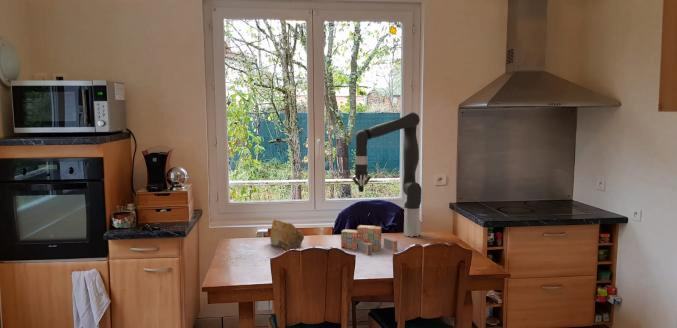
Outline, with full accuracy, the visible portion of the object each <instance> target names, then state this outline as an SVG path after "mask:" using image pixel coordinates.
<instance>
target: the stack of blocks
mask: <svg viewBox="0 0 677 328" xmlns="http://www.w3.org/2000/svg"><path fill="white" fill-rule="evenodd" d="M340 232H341V233H340V234H341V236H340V239H341V241H340V247H344V249H349V248H353V249H354V250H359V241H364V242H366V243H371V244H372V251H375V252H379V251H380V250H381V249H380V248H382V226H376V225H364V224H363V225H362V224H359V225H358V226H357V227H356V229H347V228H345V229H342V230H341V231H340ZM353 249H352V250H353Z"/></svg>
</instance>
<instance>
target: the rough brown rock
mask: <svg viewBox="0 0 677 328" xmlns="http://www.w3.org/2000/svg"><path fill="white" fill-rule="evenodd" d="M302 231H303V230H300V229H297V228H296V227H295V225H294V224H293V223H291V222H286V221H285V222H284V221H281V220H280V219H273V220H272V225H271V229H270V235H269V236H270V237H269V239H270V244H271V245H272V246H276V247H281V248H282V249H283V250H284V251H287V249H288V250H289V249H291V248H296V246H297V248H300V247H301V246H302V242H303V240H304V239H305V236H304V233H303V232H302ZM299 246H300V247H299Z"/></svg>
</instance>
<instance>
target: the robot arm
mask: <svg viewBox="0 0 677 328" xmlns="http://www.w3.org/2000/svg"><path fill="white" fill-rule="evenodd" d="M419 123H420V116H419V114H417V112H413V111H412V112H411V111H410V112H407V113H405V114H404V115H403V116H402V117H400V118H399V117H398V118H397V119H394V120H391V121H387V122H386V121H385V122H382V123H379V124H376V125H373V126H371V127H369V128H364V129H361V130H358V131H357V132H356V134H355V159H354V175H353V176H351V180H352V181H353V182H354V184H355V185H356V186H357V187H358V188H357V189H358V192H359V193H363V192H364V188H365V187H364V186H365V185H367V184H368V183H369V181H370V180H371V178H372V177H371V176H370V175H369V173H368V141H369V140H372V139H376V138H379V137H382V136H386V135H388V134H391V133H393V132H396V131H399V130H403V133H404V135H403V136H404V138H403V180H402V181H403V184H402V191H403V193H404V194H405V195H406V201H405V202H404V205H403V206H404V207H403V208H404V209H403V210H404V211H403V214H404V215H403V216H404V218H403V220H404V221H403V236H404V235H405V236H404V237H408V236H410V237H411V238H414V237H413V236H417V235H420V236H421V229H422V228H421V226H422V225H421V224H422V223H421V222H422V221H421V219H420V210H421V209H420V208H421V203H422V187H421V185H420V184H419V183H418V182H416V181H417V180H416V171H417V169H418V166H419V165H418V164H419V161H420V150H419V149H420V148H419V144H418V138H417V137H418V136H417V126H418V125H419ZM417 237H418V236H417Z"/></svg>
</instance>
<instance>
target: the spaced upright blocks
mask: <svg viewBox="0 0 677 328" xmlns="http://www.w3.org/2000/svg"><path fill="white" fill-rule="evenodd" d="M385 247H386V249H388V250H390V249H391V250H390V251H392V250H393V252H397V251H398V240H397V239H392V238H389V237H383V248H385ZM396 250H397V251H396ZM358 251H359V252H362V253H363V254H366V255H368V256H369V255H373V253H372V251H373V250H372V244H371V243H366V242H364V241H359V249H358Z"/></svg>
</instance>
